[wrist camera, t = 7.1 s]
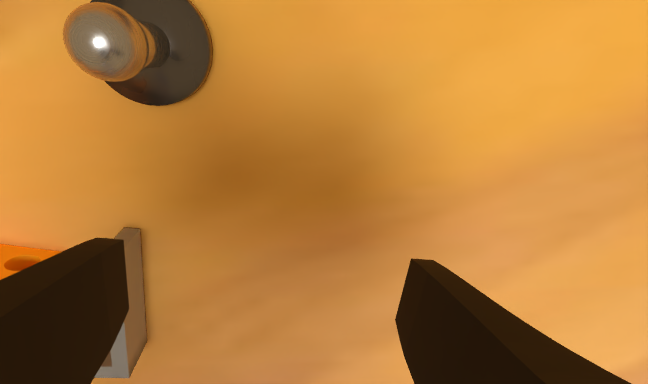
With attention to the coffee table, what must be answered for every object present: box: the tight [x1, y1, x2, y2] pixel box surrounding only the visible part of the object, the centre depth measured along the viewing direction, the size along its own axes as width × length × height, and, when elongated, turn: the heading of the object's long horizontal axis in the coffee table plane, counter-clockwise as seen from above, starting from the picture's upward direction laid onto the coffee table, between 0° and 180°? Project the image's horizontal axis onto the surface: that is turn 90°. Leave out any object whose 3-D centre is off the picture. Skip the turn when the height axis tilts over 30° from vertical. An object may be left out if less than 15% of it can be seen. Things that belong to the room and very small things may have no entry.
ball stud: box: [63, 0, 213, 106], centre depth 13 cm, size 5×5×6 cm
